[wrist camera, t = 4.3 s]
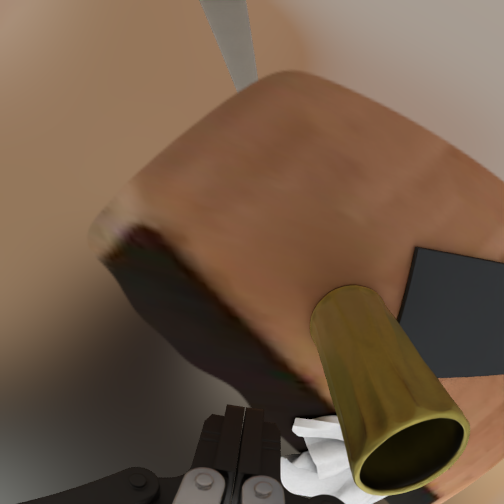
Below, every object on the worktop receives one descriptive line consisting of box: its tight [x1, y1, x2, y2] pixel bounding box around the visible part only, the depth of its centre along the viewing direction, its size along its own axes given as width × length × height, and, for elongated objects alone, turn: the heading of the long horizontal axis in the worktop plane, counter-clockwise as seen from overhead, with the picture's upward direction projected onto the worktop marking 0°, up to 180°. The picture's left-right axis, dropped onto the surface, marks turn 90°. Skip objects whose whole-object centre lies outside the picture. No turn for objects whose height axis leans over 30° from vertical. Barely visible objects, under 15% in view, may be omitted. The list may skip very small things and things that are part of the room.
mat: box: [397, 247, 504, 378], centre depth 22 cm, size 11×16×1 cm
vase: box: [310, 285, 470, 496], centre depth 16 cm, size 6×6×14 cm
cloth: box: [281, 415, 388, 504], centre depth 25 cm, size 20×22×2 cm
